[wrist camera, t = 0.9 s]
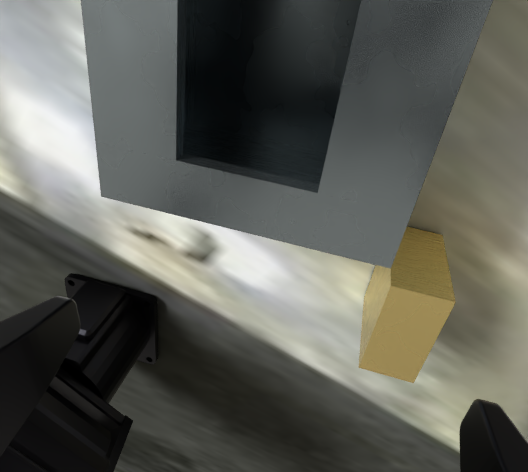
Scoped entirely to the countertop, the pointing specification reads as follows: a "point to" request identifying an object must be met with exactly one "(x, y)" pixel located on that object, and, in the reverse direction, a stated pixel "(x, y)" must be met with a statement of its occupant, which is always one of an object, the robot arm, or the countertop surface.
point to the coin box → (278, 111)
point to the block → (406, 307)
